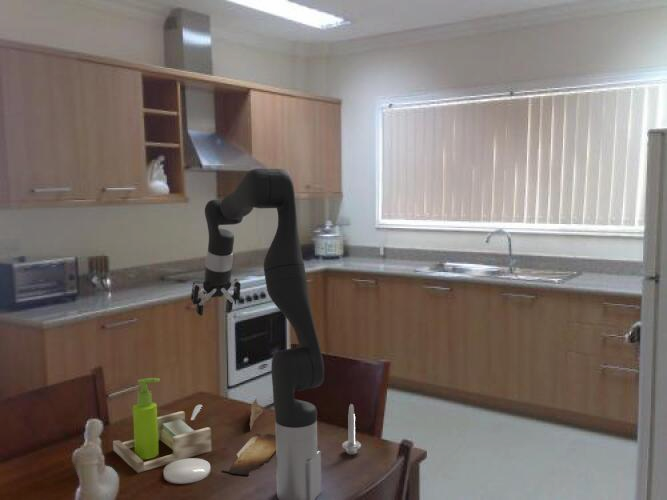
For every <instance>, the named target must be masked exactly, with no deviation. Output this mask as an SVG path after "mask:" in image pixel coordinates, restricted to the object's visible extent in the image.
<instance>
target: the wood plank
mask: <svg viewBox="0 0 667 500" xmlns="http://www.w3.org/2000/svg"><path fill="white" fill-rule="evenodd" d="M263 412H264V410H263V407H260V405H259V403H258V401H257V399H254V400H253V402H252V404H251V406H250V417H249V418H250V421H249V426H250V427H249V428H250V430H249V431H252V427H253V425H254V422H255V421H256V420H257V419H258V417H259V416H260V415H262V414H263Z"/></svg>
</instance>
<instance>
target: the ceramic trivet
mask: <svg viewBox="0 0 667 500" xmlns="http://www.w3.org/2000/svg"><path fill="white" fill-rule="evenodd" d="M210 473H211V464H210V462H208V461H207V460H206V459H203V458H198V457H194V458H193V457H189V458H186V459H181V460H177V461H174V462H172V463H169V464H166V465H165V467H164V468H163V478H164V480H165V481H167V482H168V483H172V484H176V485H177V484H179V485H180V484H181V485H182V484H183V485H185V484H192V483H197V482H199V481H202V480H203V479H205V478H207V477H208V476H209V475H210Z"/></svg>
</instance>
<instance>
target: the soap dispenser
mask: <svg viewBox="0 0 667 500" xmlns="http://www.w3.org/2000/svg"><path fill="white" fill-rule="evenodd" d="M137 381H138V385H140V390H139V391H138V392H137V403H136V404H134V405H133V406H132V417H133V420H132V421H133V434H134V435H133V439H134V444H135V447H134V453H135V454H136V455H137V456H138V457H139V458H140V459H141V460H143V461H145V460H152V459H155V458H156V457H158V456H159V454H160V453H159V449H160V448H159V440H158V422H157V417H158V404H157V403H156V402H155V401H154V402H153V401H152V398H153V397H152V391H151V390H149V389H148V386H149V385H148V383H160V382H161V379H160V378H157V377H147V378H146V377H145V378H140V379H137Z"/></svg>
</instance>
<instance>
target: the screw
mask: <svg viewBox="0 0 667 500" xmlns="http://www.w3.org/2000/svg"><path fill="white" fill-rule="evenodd" d="M355 415H356V414H355V407H354V404H352V403H350V404H349V406H348V415H347V416H348V417H347V418H348V419H347V421H348V422H347V423H348V424H347V425H348V426H347V427H348V428H347V430H348V432H347V434H348V435H347V436H348V437H347V438H348V439H347V440H345V441H344V442H343V443H342V444H341V446H342V448H343V449H345V450H346V451H345V453H347V454H348V455H355V454H357V453H358V449H360V448H361V447H362V444H361V443H360V442H359V441H358V440H356V423H355V422H356V416H355Z"/></svg>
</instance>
